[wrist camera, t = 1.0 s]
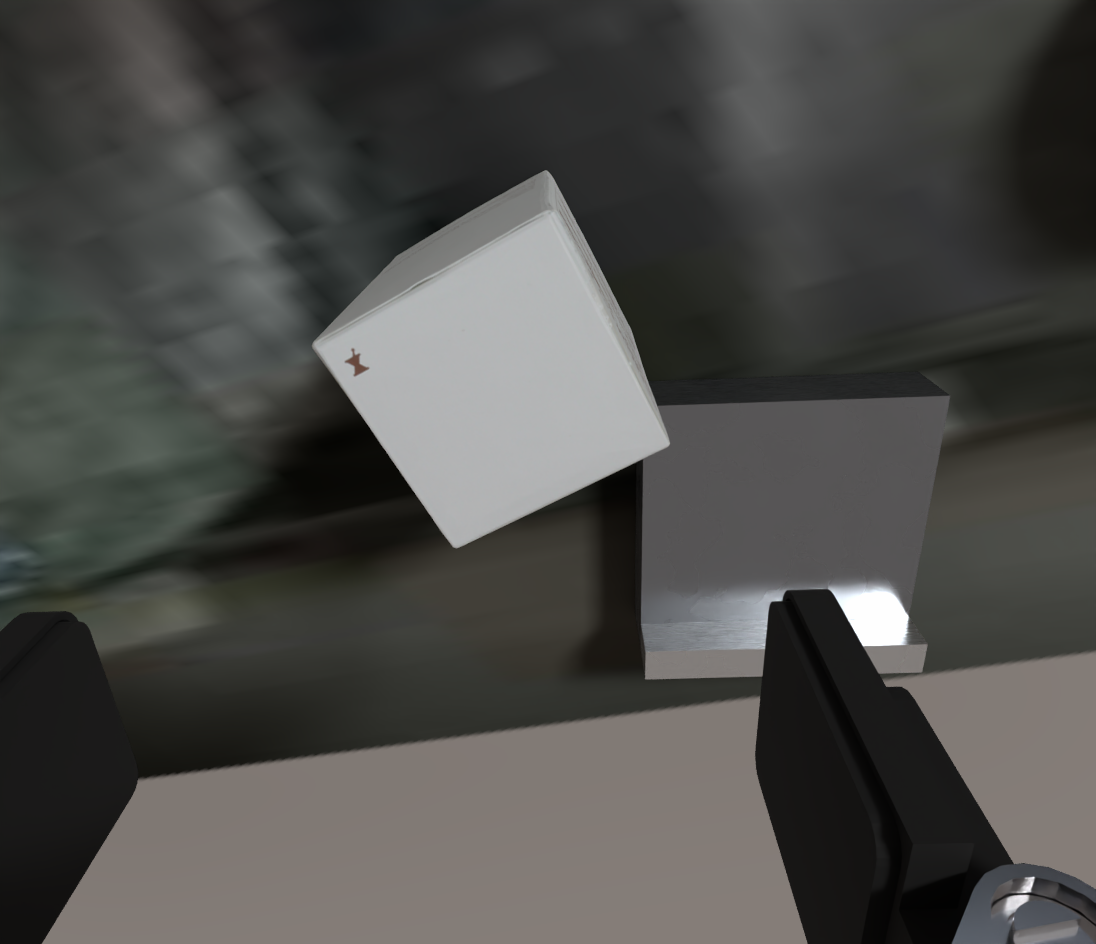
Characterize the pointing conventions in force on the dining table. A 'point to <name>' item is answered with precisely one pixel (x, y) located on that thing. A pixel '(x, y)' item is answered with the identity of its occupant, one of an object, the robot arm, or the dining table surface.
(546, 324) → the supplement box
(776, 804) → the robot arm
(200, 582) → the dining table surface
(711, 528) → the stand plate
